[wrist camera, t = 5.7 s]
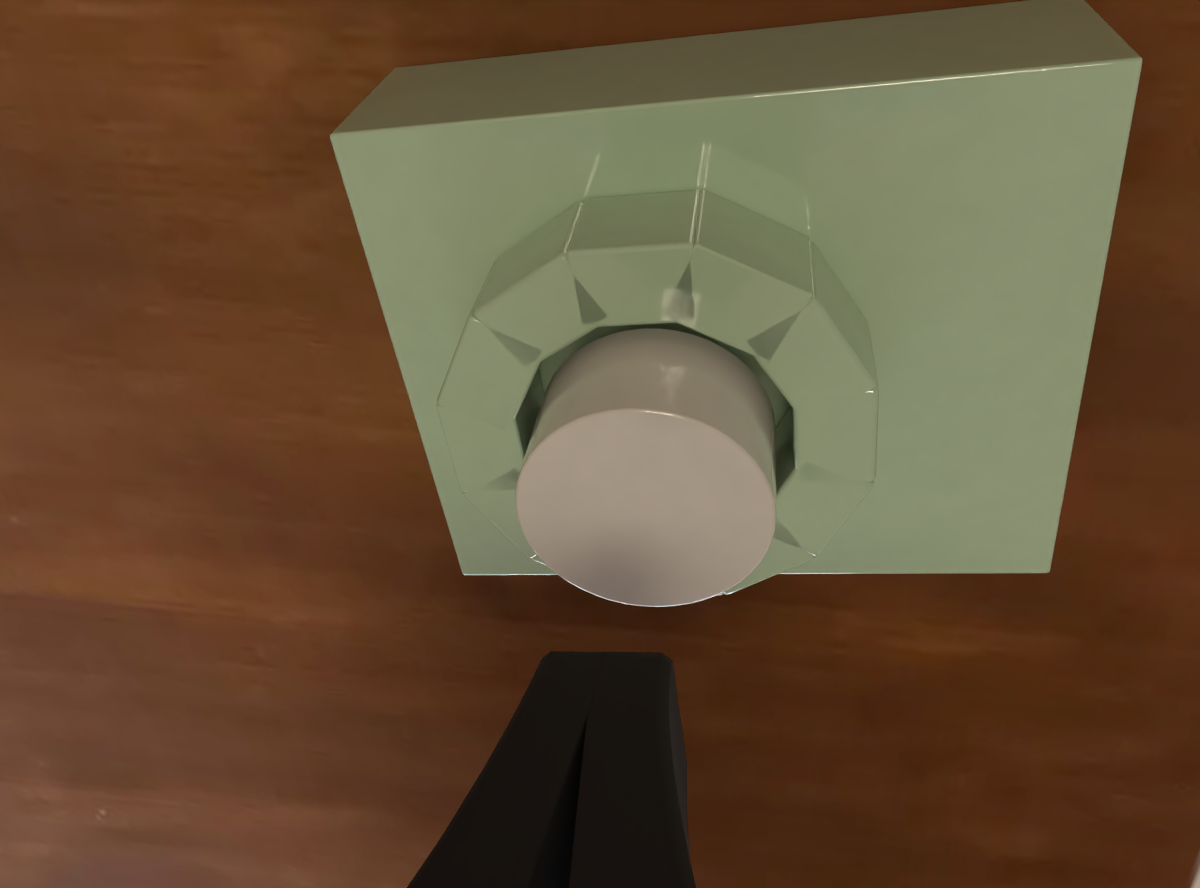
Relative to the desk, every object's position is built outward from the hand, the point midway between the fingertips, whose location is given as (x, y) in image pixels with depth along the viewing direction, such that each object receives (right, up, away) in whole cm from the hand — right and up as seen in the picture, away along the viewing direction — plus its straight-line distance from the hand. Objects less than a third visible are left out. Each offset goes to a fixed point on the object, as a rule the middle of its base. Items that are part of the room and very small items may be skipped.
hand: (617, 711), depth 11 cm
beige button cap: (+1, +3, +4) cm, 5 cm away
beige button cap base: (+2, +6, +8) cm, 10 cm away
